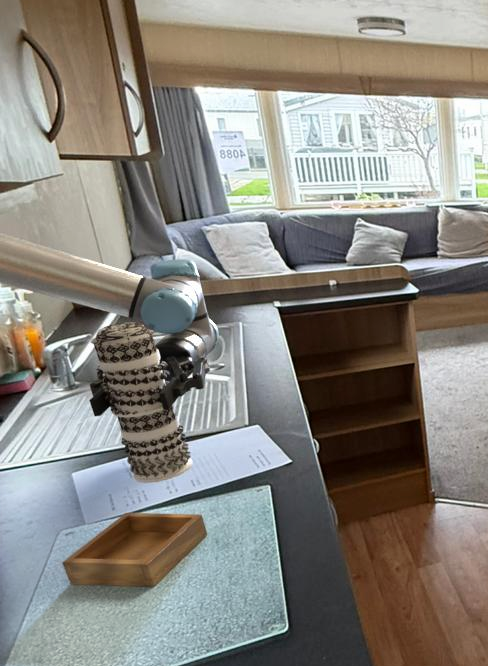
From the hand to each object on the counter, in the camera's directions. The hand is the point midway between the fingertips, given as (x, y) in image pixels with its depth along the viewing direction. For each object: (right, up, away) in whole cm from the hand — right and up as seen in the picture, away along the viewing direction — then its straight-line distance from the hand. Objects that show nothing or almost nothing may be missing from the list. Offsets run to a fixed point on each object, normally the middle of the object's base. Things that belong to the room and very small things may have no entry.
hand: (129, 404), depth 99 cm
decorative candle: (-1, -11, +10) cm, 15 cm away
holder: (0, -24, +3) cm, 25 cm away
